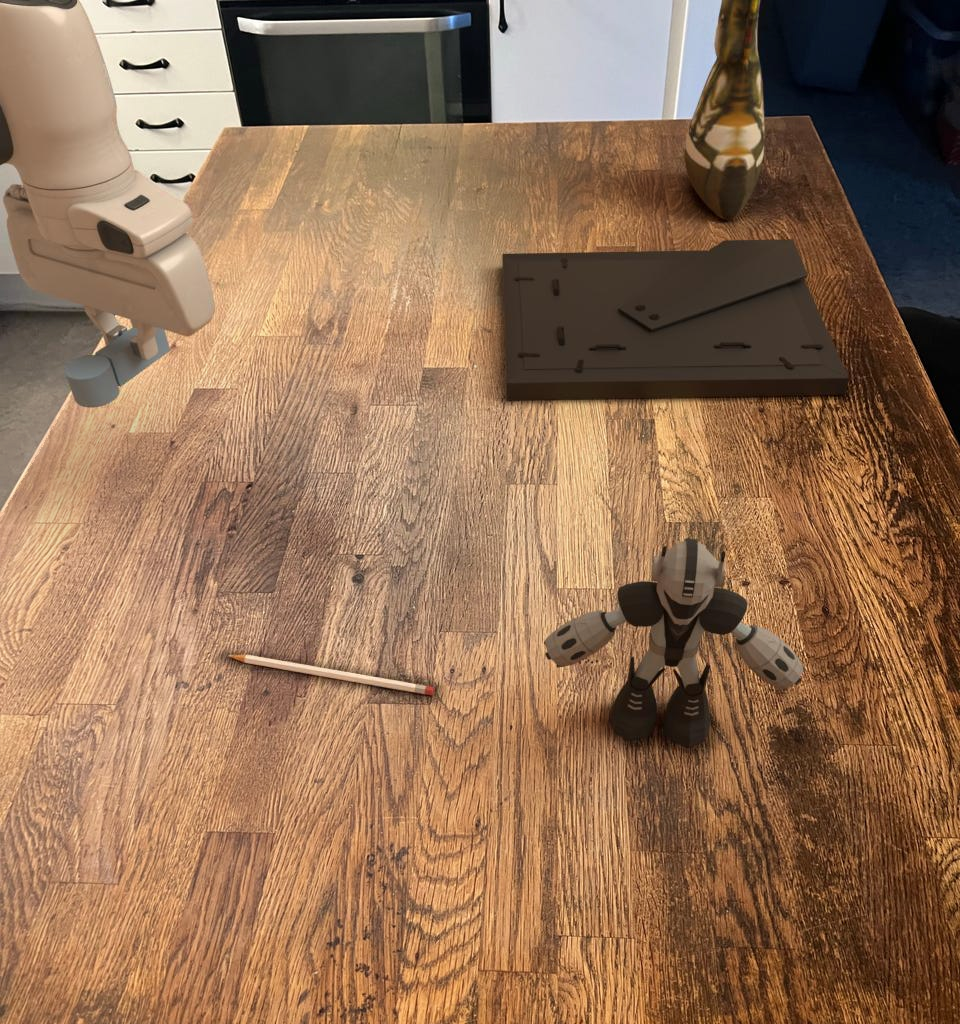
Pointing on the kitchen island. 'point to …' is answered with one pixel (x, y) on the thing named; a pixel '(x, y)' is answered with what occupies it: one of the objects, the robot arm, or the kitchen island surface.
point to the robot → (675, 642)
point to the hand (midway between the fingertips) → (133, 351)
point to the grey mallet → (109, 369)
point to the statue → (729, 116)
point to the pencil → (335, 674)
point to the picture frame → (666, 325)
